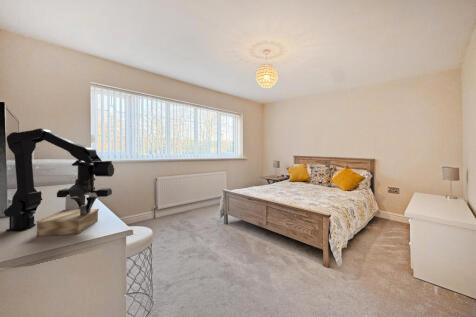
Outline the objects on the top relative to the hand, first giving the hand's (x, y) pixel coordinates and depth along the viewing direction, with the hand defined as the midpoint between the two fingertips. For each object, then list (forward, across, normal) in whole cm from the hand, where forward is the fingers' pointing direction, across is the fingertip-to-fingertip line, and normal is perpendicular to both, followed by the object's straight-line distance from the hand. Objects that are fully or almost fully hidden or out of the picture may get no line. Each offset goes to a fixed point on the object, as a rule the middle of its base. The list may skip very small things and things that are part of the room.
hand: (85, 212), depth 89 cm
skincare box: (+7, -11, +12) cm, 17 cm away
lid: (+1, -6, 0) cm, 6 cm away
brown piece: (+6, -6, 0) cm, 8 cm away
